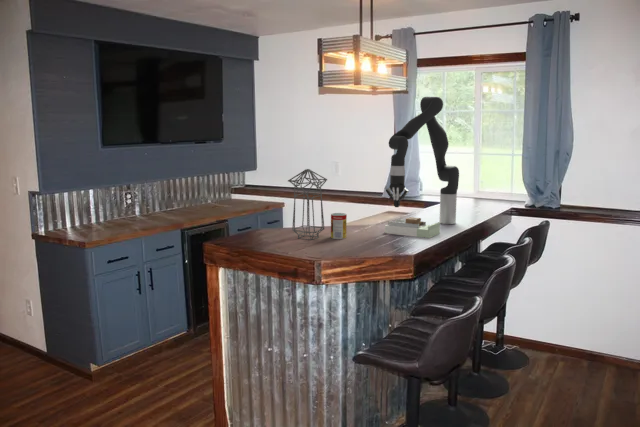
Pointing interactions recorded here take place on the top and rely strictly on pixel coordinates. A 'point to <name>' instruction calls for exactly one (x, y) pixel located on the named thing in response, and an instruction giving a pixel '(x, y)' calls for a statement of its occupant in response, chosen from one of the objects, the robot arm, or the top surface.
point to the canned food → (338, 225)
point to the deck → (415, 230)
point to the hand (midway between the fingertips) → (396, 207)
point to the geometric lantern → (308, 202)
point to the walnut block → (413, 220)
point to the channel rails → (403, 223)
